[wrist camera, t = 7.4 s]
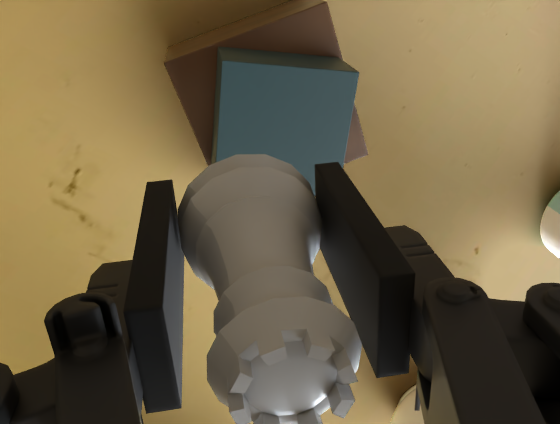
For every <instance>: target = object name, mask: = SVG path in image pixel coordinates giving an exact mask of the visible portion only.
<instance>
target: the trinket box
mask: <svg viewBox="0 0 560 424" xmlns="http://www.w3.org/2000/svg"><path fill="white" fill-rule="evenodd" d="M415 397H416V385H414V386H413V387H411V388H410V389H409V390H408V391H406V392H405V394H404V395H403V396H402V397H401V399H400V401H399V403H398V406H397V408H396V410H395V411H394V414H393V416H392V419H391V422H390V424H424V419H423V415H422V410H421V405H420V411H415Z"/></svg>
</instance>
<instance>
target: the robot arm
mask: <svg viewBox="0 0 560 424" xmlns="http://www.w3.org/2000/svg"><path fill="white" fill-rule="evenodd" d="M314 165H315V199H316V202H317V205H318V208H319V211H320V214H321V217H322V229H321V239H320V249H321V251H322V253H323V256H324V258H325V260H326V263H327V265H328V267H329V270H330V272H331V274H332V276H333V279H334V281H335V283H336V286H337V288H338V290H339V292H340V295H341V297H342V299H343V302H344V304H345V306H346V309H347V311H348V313H349V315H350V318H351V320H352V321H353V322H354V324H355V327H356V330H357V332H358V335H359V338H360V340H361V343H362V345H363V348H364V350H365V352H366V355H367V357H368V359H369V361H370V364H371V366H372V368H373V371H374V373H375V375H376V378H380V377H387V376H393V375H400V374H407V373H409V361H410V354H411V356H412V358H413V360H414V362H415V364H416V365H417V367H418V371H417V384H416V397H415V411H420V405H421V410H422V415H423V419H424V424H560V284H559V283H540V284H537V285H534V286H532V287H531V288H530V289H529V290H528V291H527V293H526V299H525V302H522V301H508V300H497V299H490V298H488V297H487V294H486V293H485V292H484V291H483V289H482V288H481V287H480V286H478V285H476V284H475V283H473V282H471V281H468V280H464V279H461V278H455V277H454V276H453V274H452V273H451V272H450V271H449V269H448V268H447V267H446V266H445V264H444V263H443V262H442V261H441V259H440V258H439V257H438V256H437V255H436V254H434V251H433V250H432V248H431V247H430V246H429V245H428V244H427V242H426V241H425V240H424V238H423V237H422V236H421V235H420V233H418V232H416V231H414V230H413V229H411V228H409V227H407V226H405V225H402V226H394V227H386V228H384V227H383V226H382V224H381V223H380V221H379V220H378V218H377V217H376V216H375V214H374V213H373V211H372V210H371V208H370V207H369V206H368V204H367V203H366V201H365V200H364V198H363V197H362V195H361V194H360V193H359V191H358V190H357V188H356V187H355V185H354V184H353V183H352V181H351V180H350V178H349V177H348V175H347V174H346V173H345V171H344V170H343V168H342V167H341V165H340V164H339V162H331V163H322V164H314ZM87 289H88V290H87V291H86V293H81V294H77V295H74V296H71V297H68V298H65V299H64V300H62V301H60V302H59V303H57V304H55V305H54V306H53V307H52V308H51V309H50V310H49V311H48V312H47V314H46V317H45V320H44V323H45V326H46V329H47V332H48V335H49V339H50V342H51V345H52V348H53V351H54V355H55V358H53V359H52V360H50V361H48V362H47V363H45V364H42V365H40V366H38V367H35V368H32V369H29V370H27V371H24V372H21V373H18V374H15V375H13V374H12V372H11V370H10V368H9V367H8V366H7V365H5V364H2V363H0V424H143V419H142V415H141V410H142V400H143V401H144V406H145V410H146V414H147V413H153V412H160V411H166V410H173V409H179V408H181V403H182V346H183V290H184V253H183V251H182V249H181V238H180V233H179V226H178V214H177V208H176V201H175V195H174V189H173V182H172V180H164V181H155V182H147V185H146V190H145V195H144V201H143V206H142V212H141V217H140V223H139V228H138V234H137V239H136V244H135V250H134V255H133V260H128V261H120V262H112V263H104V264H102V265H101V266H100V267H99V268H98V269H97V270H96V271H95V272H94V273H93V274H92V275H91V278H90V281H89V284H88V287H87Z"/></svg>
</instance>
